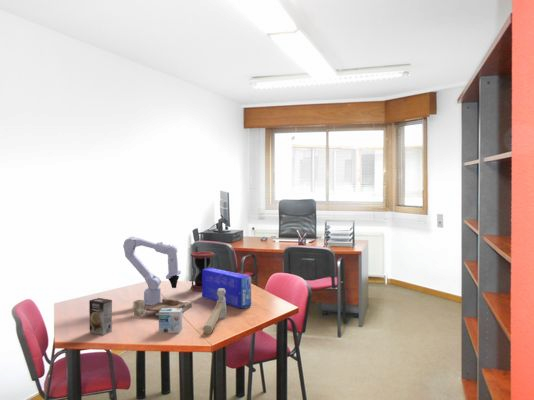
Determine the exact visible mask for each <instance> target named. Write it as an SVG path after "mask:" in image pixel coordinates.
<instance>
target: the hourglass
mask: <svg viewBox="0 0 534 400" xmlns="http://www.w3.org/2000/svg"><path fill="white" fill-rule="evenodd" d="M214 256H215V253H214V252H213V251H195V252H191V253H190V257H191V268H192V270H193V274H192V275H191V286H190V290H192V291H194V292H202V270H203V269H208V268H214V267H213V266H214ZM194 264H195V266H196V267H197V268H198V269H199V273H198V274H197V275H196V273H197V271H196V268H195V267H194ZM210 264H211V265H210ZM209 266H210V267H209ZM195 275H196V277H195ZM194 277H195V278H194Z"/></svg>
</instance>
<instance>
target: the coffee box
mask: <svg viewBox="0 0 534 400" xmlns="http://www.w3.org/2000/svg"><path fill="white" fill-rule="evenodd" d="M88 304H89V333H90V334H96V335H100V336H104V335H106V334H110V333H111V332H112V331H113V300H112V299H108V298H102V297H97V298H92V299H90V300H89V302H88Z"/></svg>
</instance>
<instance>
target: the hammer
mask: <svg viewBox="0 0 534 400" xmlns="http://www.w3.org/2000/svg"><path fill="white" fill-rule="evenodd" d="M225 293H226V291H225V289H224V288H219V289H218V290H217V295H218V296H219V299H218V301H216V305H215V306H214V308H213V309H212V311H211V313H210V315H209V317H208V319H207V321H206V322H205V324H204V326H203V328H202V329H203V332H204V334H206V335H210V334H212V333H213V331H214V328H215V326H216V324H217V323H218V320H219V319H224V320H225V319H226V316H227V304H226V298H225V296H224V295H225Z"/></svg>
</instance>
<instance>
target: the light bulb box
mask: <svg viewBox="0 0 534 400" xmlns="http://www.w3.org/2000/svg"><path fill="white" fill-rule="evenodd" d="M182 330H183V313H182V308H162V309H161V310H160V311H159V316H158V334H180V333H181V332H182Z"/></svg>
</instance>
